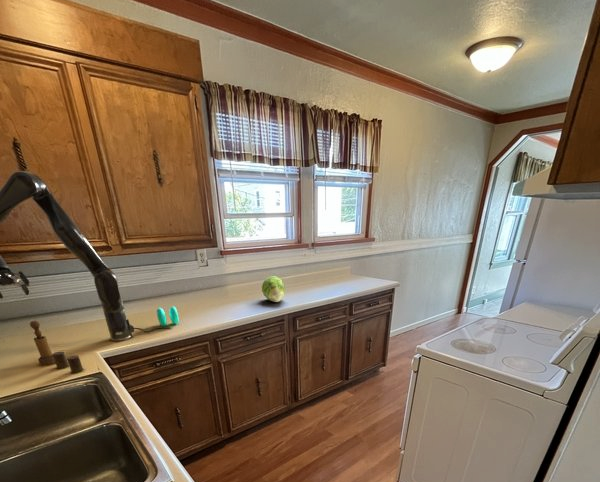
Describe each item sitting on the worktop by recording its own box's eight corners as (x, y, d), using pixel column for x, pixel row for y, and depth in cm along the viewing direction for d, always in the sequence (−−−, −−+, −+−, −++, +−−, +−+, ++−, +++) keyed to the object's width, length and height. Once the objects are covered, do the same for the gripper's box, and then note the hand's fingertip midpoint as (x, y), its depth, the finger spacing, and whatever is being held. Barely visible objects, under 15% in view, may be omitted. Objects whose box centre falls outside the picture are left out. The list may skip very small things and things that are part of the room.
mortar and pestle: (36, 364, 136) (19, 322, 128) (51, 358, 141) (36, 318, 133) (47, 366, 134) (30, 324, 126) (62, 361, 139) (47, 319, 131)
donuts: (180, 325, 185) (177, 308, 181) (161, 328, 181) (158, 310, 176) (176, 321, 193) (173, 304, 188) (158, 324, 188) (155, 306, 184)
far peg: (81, 368, 133) (77, 354, 130) (84, 371, 130) (79, 357, 127) (70, 371, 130) (65, 357, 127) (73, 374, 128) (68, 359, 125)
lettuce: (276, 313, 234) (260, 297, 225) (270, 300, 252) (256, 285, 243) (293, 297, 230) (278, 280, 221) (286, 285, 248) (272, 269, 239)
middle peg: (67, 364, 136) (62, 350, 134) (70, 366, 134) (65, 353, 131) (56, 366, 134) (51, 353, 131) (58, 369, 131) (53, 355, 129)
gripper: (-31, 258, 125) (-9, 292, 124) (14, 255, 135) (35, 286, 134) (-28, 272, 130) (-7, 304, 129) (15, 268, 140) (35, 298, 139)
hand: (14, 295), depth 132 cm, fingers open, 8 cm apart
